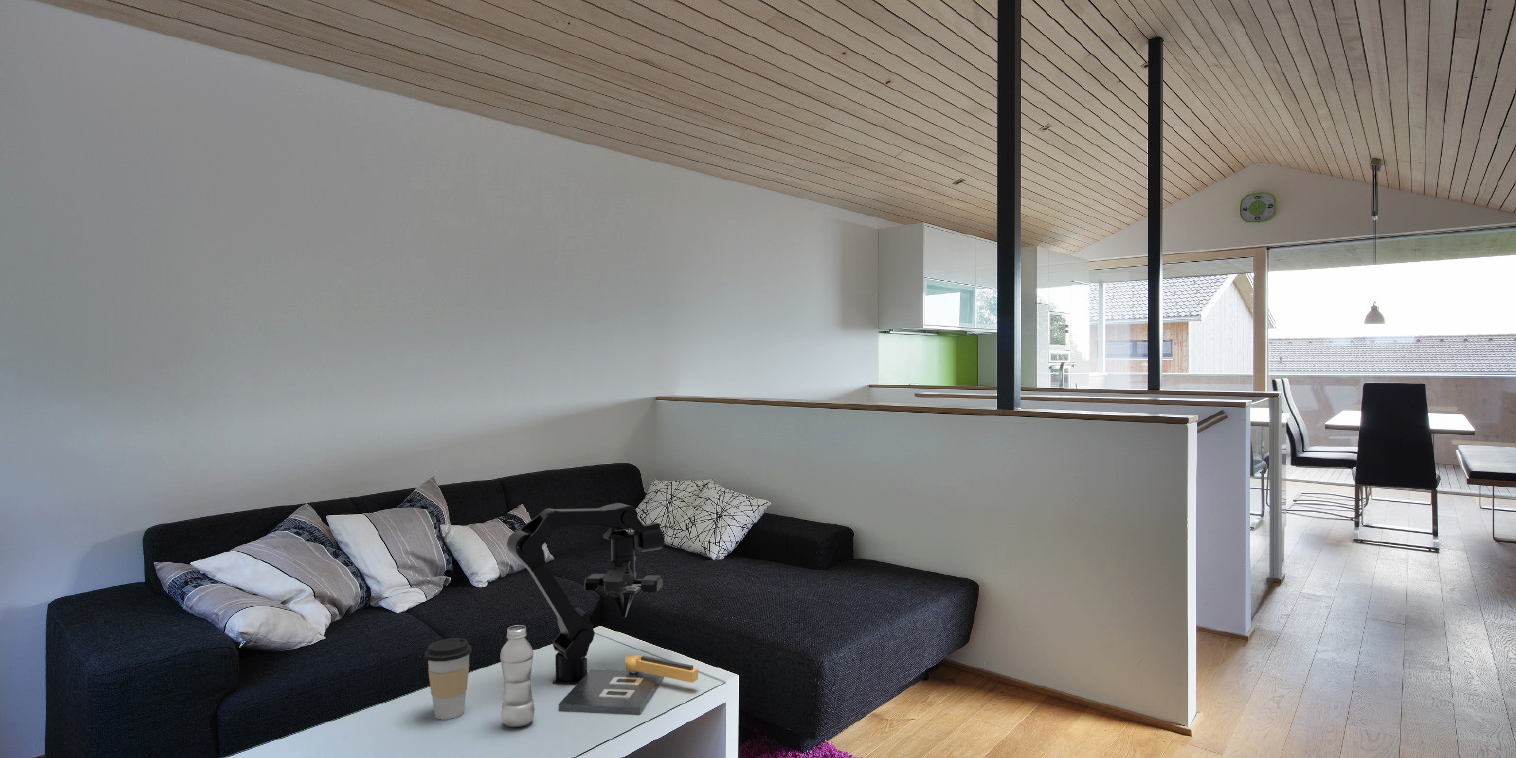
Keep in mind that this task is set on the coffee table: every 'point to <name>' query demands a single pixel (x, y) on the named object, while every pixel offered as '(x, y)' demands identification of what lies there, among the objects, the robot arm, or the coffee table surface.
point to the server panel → (611, 692)
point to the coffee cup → (448, 676)
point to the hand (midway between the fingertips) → (624, 617)
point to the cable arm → (661, 668)
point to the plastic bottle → (517, 678)
